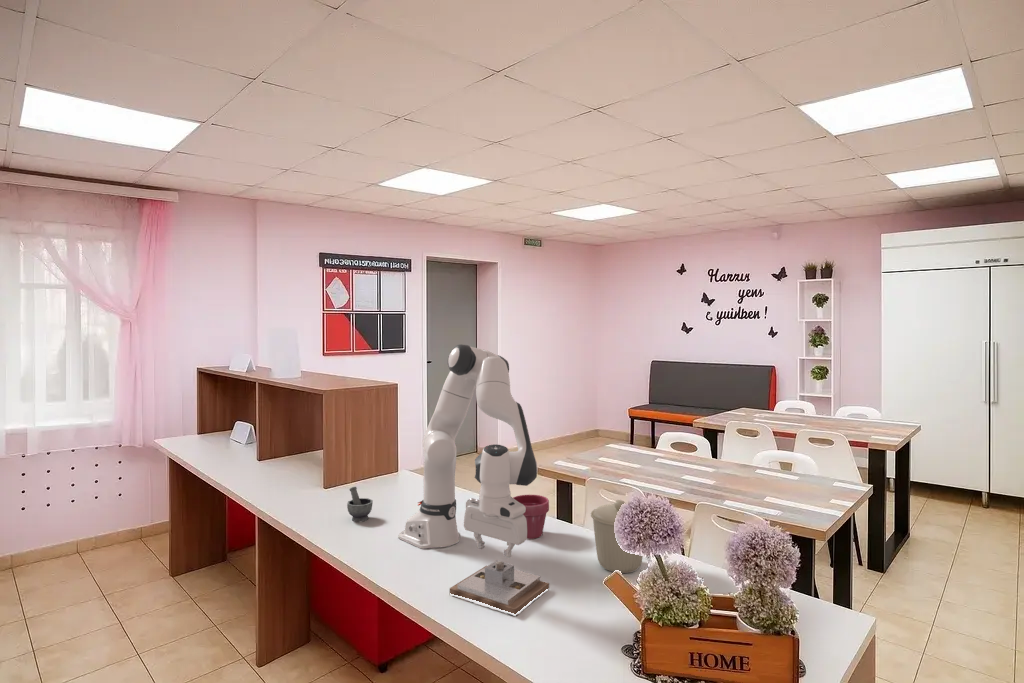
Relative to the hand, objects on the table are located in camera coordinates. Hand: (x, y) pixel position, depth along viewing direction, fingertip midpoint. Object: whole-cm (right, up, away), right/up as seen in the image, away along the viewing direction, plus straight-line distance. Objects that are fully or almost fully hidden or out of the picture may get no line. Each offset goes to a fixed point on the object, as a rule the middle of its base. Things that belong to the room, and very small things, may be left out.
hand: (493, 552), depth 161 cm
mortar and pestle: (-55, -10, +63) cm, 84 cm away
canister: (+39, -12, +19) cm, 45 cm away
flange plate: (+2, -10, +1) cm, 10 cm away
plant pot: (+12, -11, +46) cm, 48 cm away
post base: (+2, -12, +1) cm, 12 cm away
